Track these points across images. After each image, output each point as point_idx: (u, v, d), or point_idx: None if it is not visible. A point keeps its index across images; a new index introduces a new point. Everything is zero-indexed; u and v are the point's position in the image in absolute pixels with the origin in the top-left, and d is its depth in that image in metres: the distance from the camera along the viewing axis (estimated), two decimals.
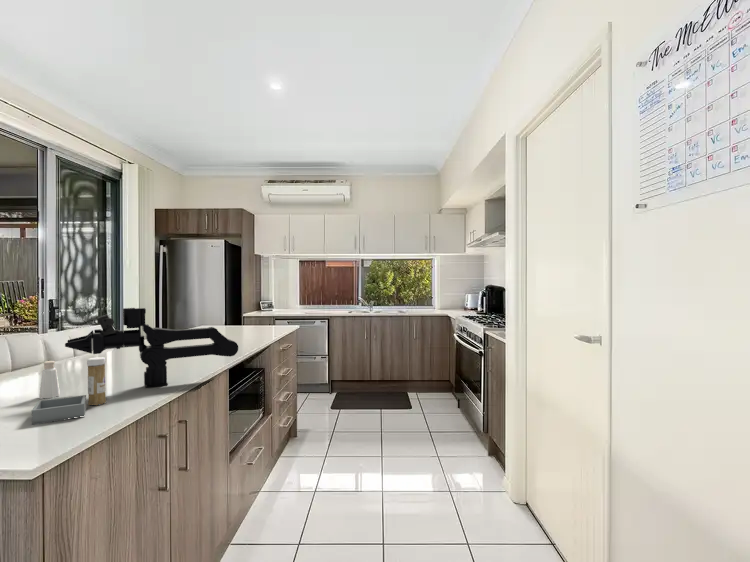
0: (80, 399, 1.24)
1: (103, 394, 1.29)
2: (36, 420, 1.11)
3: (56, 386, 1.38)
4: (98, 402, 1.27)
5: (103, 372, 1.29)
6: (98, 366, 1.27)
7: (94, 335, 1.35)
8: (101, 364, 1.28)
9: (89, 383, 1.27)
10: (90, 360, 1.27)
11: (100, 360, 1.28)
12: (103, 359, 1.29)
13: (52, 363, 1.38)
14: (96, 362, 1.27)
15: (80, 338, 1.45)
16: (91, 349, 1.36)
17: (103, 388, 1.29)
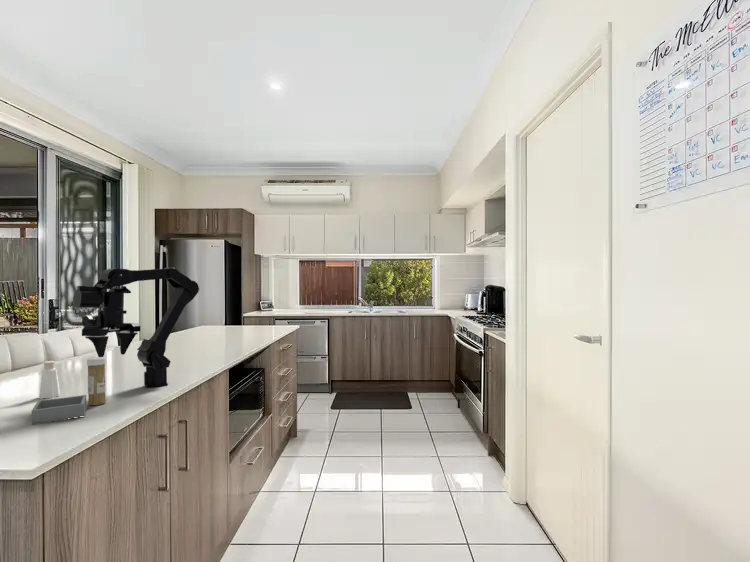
0: (80, 399, 1.24)
1: (103, 394, 1.29)
2: (36, 420, 1.11)
3: (56, 386, 1.38)
4: (98, 402, 1.27)
5: (103, 372, 1.29)
6: (98, 366, 1.27)
7: None
8: (101, 364, 1.28)
9: (89, 383, 1.27)
10: (90, 360, 1.27)
11: (100, 360, 1.28)
12: (103, 359, 1.29)
13: (52, 363, 1.38)
14: (96, 362, 1.27)
15: (121, 343, 1.46)
16: (97, 337, 1.33)
17: (103, 388, 1.29)
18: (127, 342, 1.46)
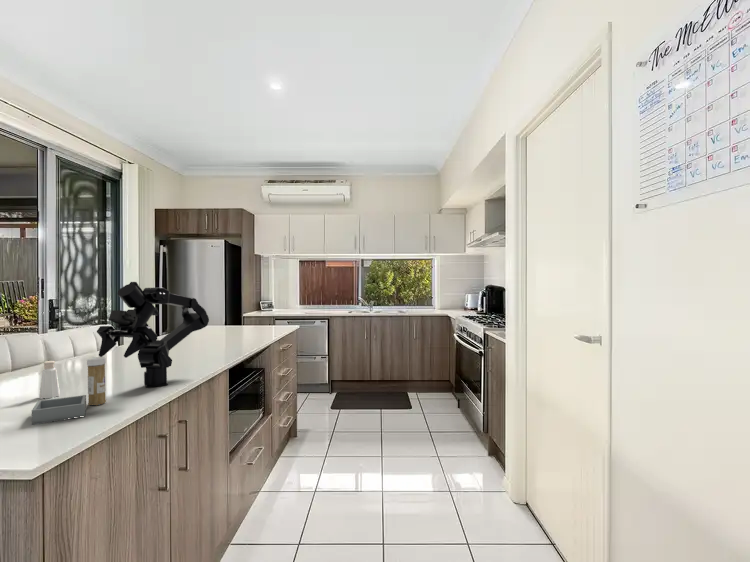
0: (80, 399, 1.24)
1: (103, 394, 1.29)
2: (36, 420, 1.11)
3: (56, 386, 1.38)
4: (98, 402, 1.27)
5: (103, 372, 1.29)
6: (98, 366, 1.27)
7: (146, 331, 1.36)
8: (101, 364, 1.28)
9: (89, 383, 1.27)
10: (90, 360, 1.27)
11: (100, 360, 1.28)
12: (103, 359, 1.29)
13: (52, 363, 1.38)
14: (95, 362, 1.27)
15: (104, 345, 1.38)
16: (148, 342, 1.38)
17: (103, 388, 1.29)
18: (109, 348, 1.39)
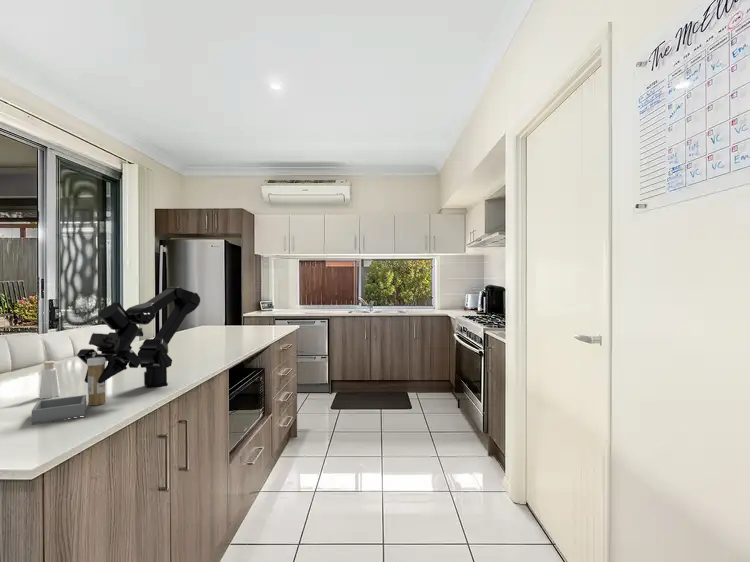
0: (80, 399, 1.24)
1: (103, 394, 1.29)
2: (36, 420, 1.11)
3: (56, 386, 1.38)
4: (98, 402, 1.27)
5: None
6: (98, 366, 1.27)
7: (128, 355, 1.29)
8: (101, 364, 1.28)
9: (89, 383, 1.27)
10: (90, 360, 1.27)
11: (100, 360, 1.28)
12: (103, 359, 1.29)
13: (52, 363, 1.38)
14: (95, 362, 1.27)
15: None
16: (125, 366, 1.32)
17: (103, 388, 1.29)
18: None
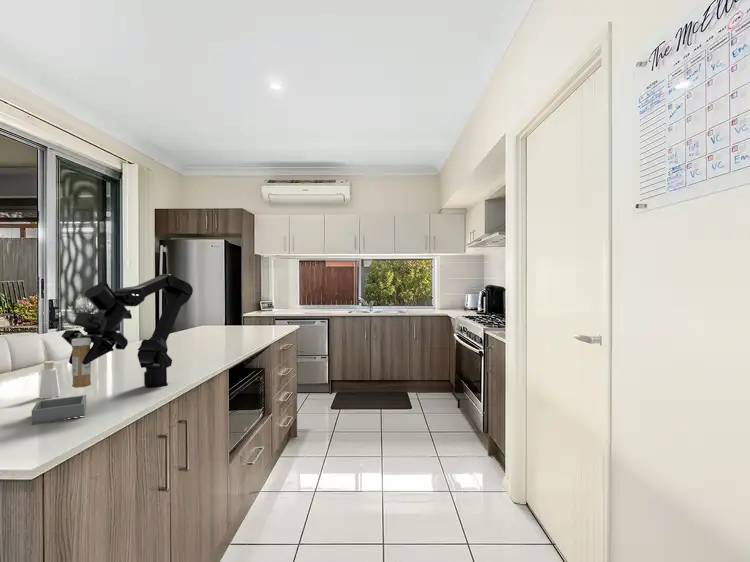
0: (80, 399, 1.24)
1: (88, 376, 1.24)
2: (36, 420, 1.11)
3: (56, 386, 1.38)
4: (83, 384, 1.23)
5: None
6: (83, 346, 1.23)
7: (114, 335, 1.24)
8: (86, 344, 1.23)
9: (73, 364, 1.22)
10: (75, 340, 1.22)
11: (85, 340, 1.23)
12: (88, 339, 1.24)
13: (52, 363, 1.38)
14: (80, 342, 1.22)
15: None
16: (111, 347, 1.27)
17: (88, 370, 1.24)
18: None
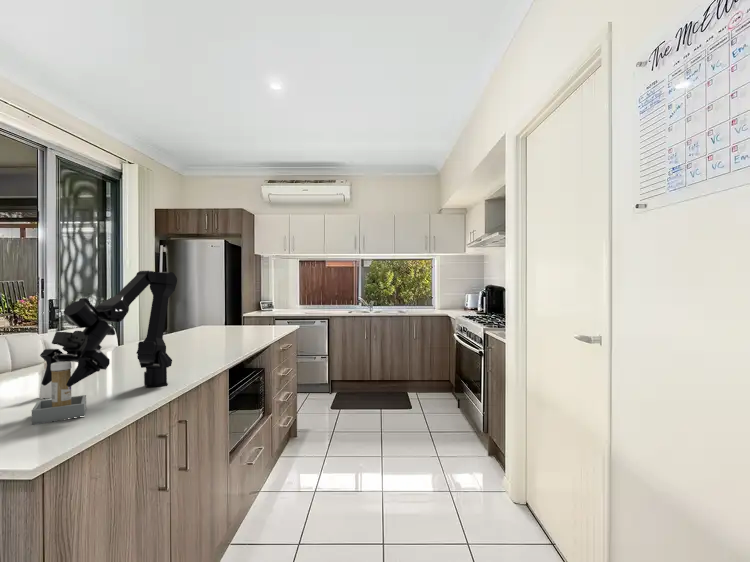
0: (80, 399, 1.24)
1: (68, 402, 1.18)
2: (36, 420, 1.11)
3: None
4: None
5: (68, 378, 1.19)
6: (62, 371, 1.17)
7: (94, 356, 1.18)
8: (66, 369, 1.18)
9: (53, 390, 1.16)
10: (54, 364, 1.17)
11: (65, 364, 1.17)
12: (68, 363, 1.18)
13: None
14: (60, 366, 1.17)
15: (49, 371, 1.20)
16: (97, 367, 1.21)
17: (68, 395, 1.18)
18: None
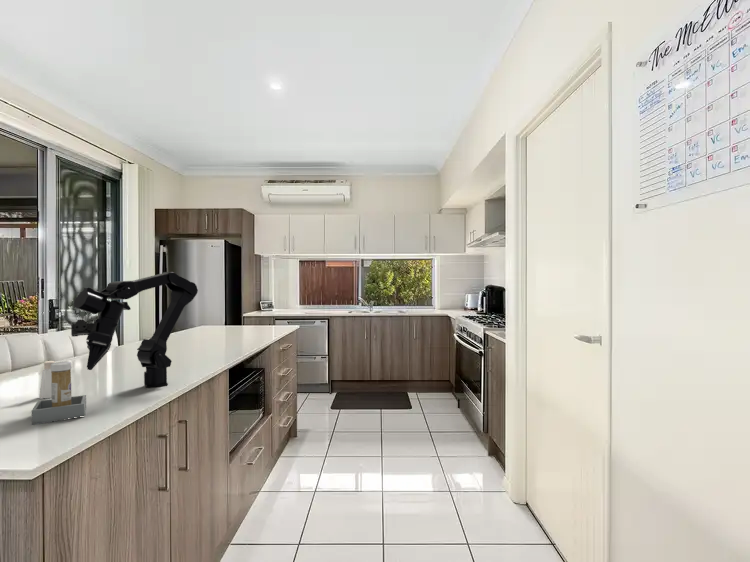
0: (80, 399, 1.24)
1: (68, 402, 1.18)
2: (36, 420, 1.11)
3: None
4: None
5: (68, 378, 1.18)
6: (62, 371, 1.17)
7: (88, 337, 1.26)
8: (66, 369, 1.17)
9: (52, 390, 1.16)
10: (54, 365, 1.16)
11: (65, 365, 1.17)
12: (68, 364, 1.18)
13: None
14: (60, 367, 1.16)
15: None
16: (104, 345, 1.29)
17: (68, 396, 1.18)
18: (99, 358, 1.38)
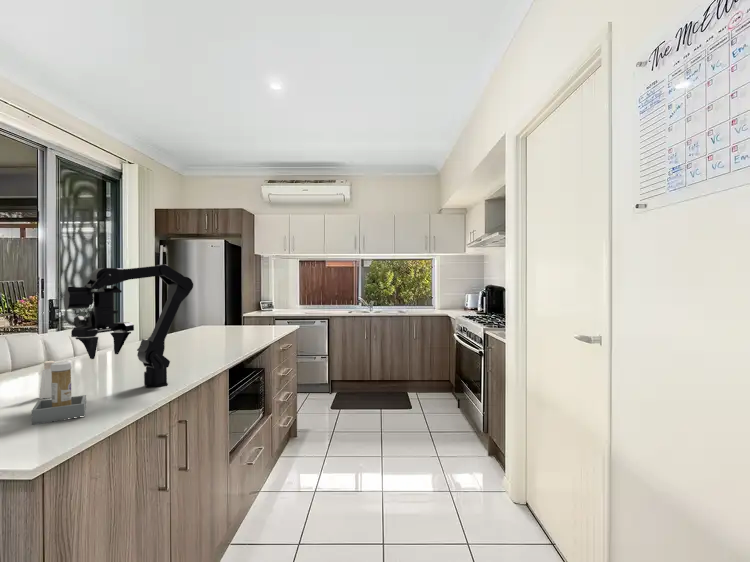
0: (80, 399, 1.24)
1: (68, 402, 1.18)
2: (36, 420, 1.11)
3: None
4: None
5: (68, 378, 1.18)
6: (62, 371, 1.17)
7: None
8: (66, 369, 1.17)
9: (52, 390, 1.16)
10: (54, 365, 1.16)
11: (65, 365, 1.17)
12: (68, 364, 1.18)
13: None
14: (60, 367, 1.16)
15: (114, 343, 1.45)
16: (86, 338, 1.32)
17: (68, 396, 1.18)
18: (120, 342, 1.45)
